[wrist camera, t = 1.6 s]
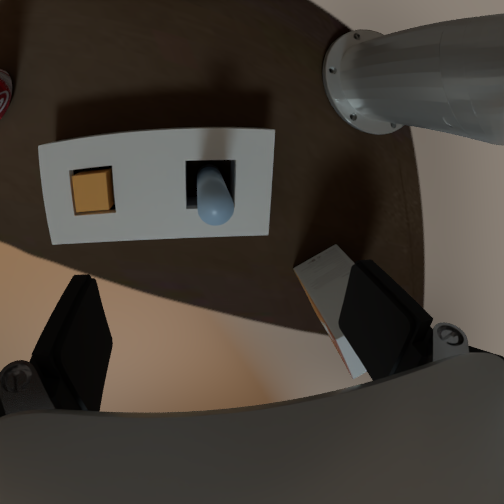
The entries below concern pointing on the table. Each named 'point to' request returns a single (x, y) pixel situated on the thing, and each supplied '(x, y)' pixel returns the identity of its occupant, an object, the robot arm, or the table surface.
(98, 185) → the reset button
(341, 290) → the small box
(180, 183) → the white board with holes
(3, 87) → the soda can
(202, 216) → the light blue rod
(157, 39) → the table surface
